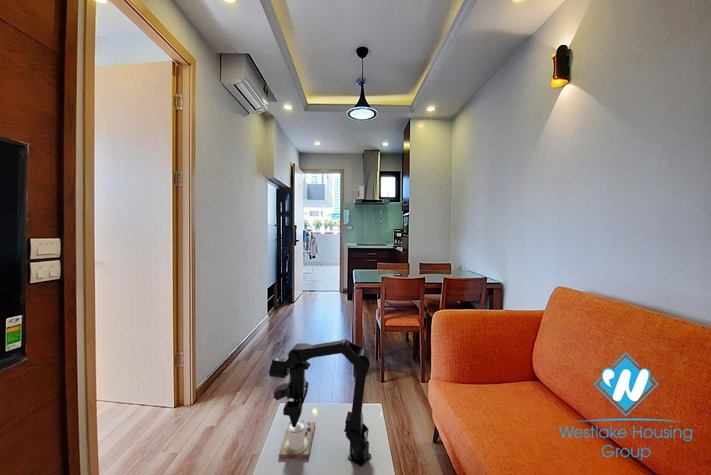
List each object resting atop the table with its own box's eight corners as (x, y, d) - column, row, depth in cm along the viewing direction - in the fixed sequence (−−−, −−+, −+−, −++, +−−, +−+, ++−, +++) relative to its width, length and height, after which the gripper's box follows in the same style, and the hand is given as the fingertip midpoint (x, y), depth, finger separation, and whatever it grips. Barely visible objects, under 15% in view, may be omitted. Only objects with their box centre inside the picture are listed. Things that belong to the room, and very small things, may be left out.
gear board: (315, 425, 123) (315, 417, 123) (308, 458, 105) (308, 448, 105) (289, 425, 123) (289, 416, 123) (278, 458, 105) (279, 448, 105)
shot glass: (307, 439, 113) (307, 421, 113) (302, 452, 106) (302, 433, 106) (290, 437, 114) (291, 419, 113) (284, 450, 107) (284, 431, 107)
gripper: (282, 366, 119) (281, 403, 119) (269, 391, 100) (268, 435, 100) (309, 367, 119) (308, 404, 119) (300, 392, 100) (300, 436, 100)
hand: (296, 418), depth 110 cm, fingers open, 9 cm apart
